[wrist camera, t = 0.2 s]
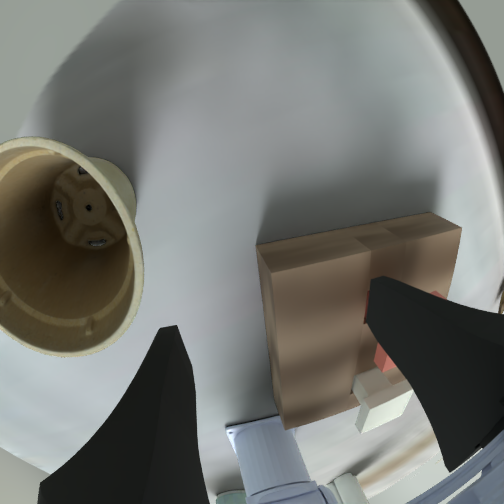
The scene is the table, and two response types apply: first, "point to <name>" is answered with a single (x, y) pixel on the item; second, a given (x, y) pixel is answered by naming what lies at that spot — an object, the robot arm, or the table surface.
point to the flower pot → (66, 249)
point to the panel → (341, 305)
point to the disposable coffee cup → (232, 497)
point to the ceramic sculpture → (501, 304)
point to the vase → (347, 490)
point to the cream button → (378, 399)
